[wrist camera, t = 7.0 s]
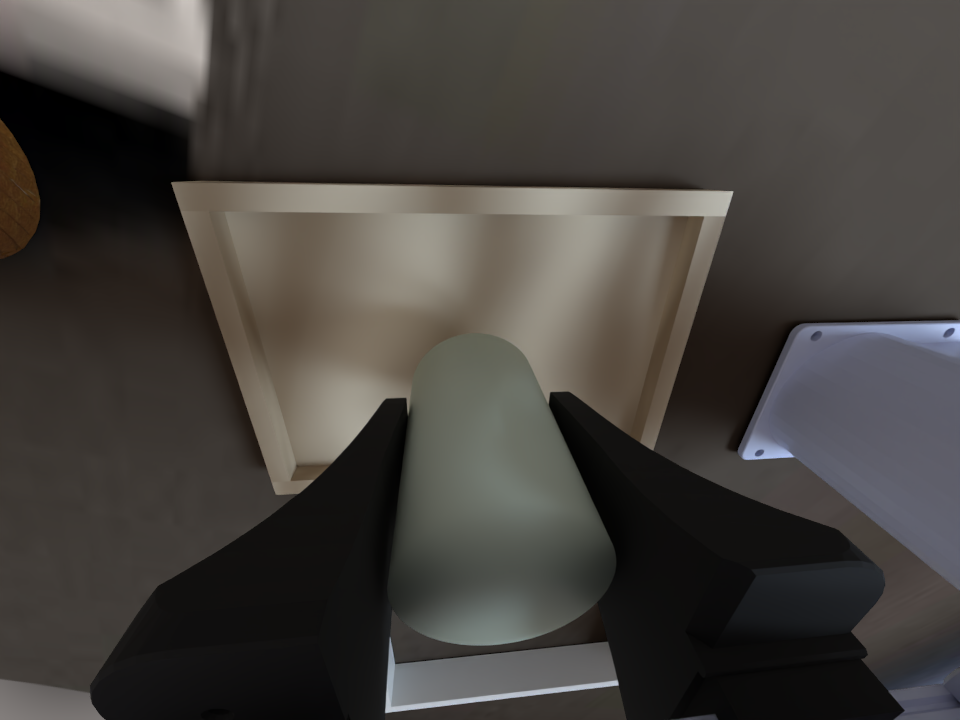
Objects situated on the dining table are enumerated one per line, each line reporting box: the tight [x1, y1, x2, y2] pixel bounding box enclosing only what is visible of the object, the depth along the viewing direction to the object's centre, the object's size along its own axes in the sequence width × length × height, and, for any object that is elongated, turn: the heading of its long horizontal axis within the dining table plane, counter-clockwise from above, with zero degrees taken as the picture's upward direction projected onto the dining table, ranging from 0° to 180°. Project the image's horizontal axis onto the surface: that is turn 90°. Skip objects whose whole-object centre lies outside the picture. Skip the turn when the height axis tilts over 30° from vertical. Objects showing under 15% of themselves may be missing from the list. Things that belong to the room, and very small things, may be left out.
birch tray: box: [171, 181, 733, 495], centre depth 15 cm, size 18×13×2 cm
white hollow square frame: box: [385, 639, 619, 713], centre depth 24 cm, size 19×19×2 cm
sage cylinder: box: [387, 333, 616, 645], centre depth 10 cm, size 4×4×7 cm
